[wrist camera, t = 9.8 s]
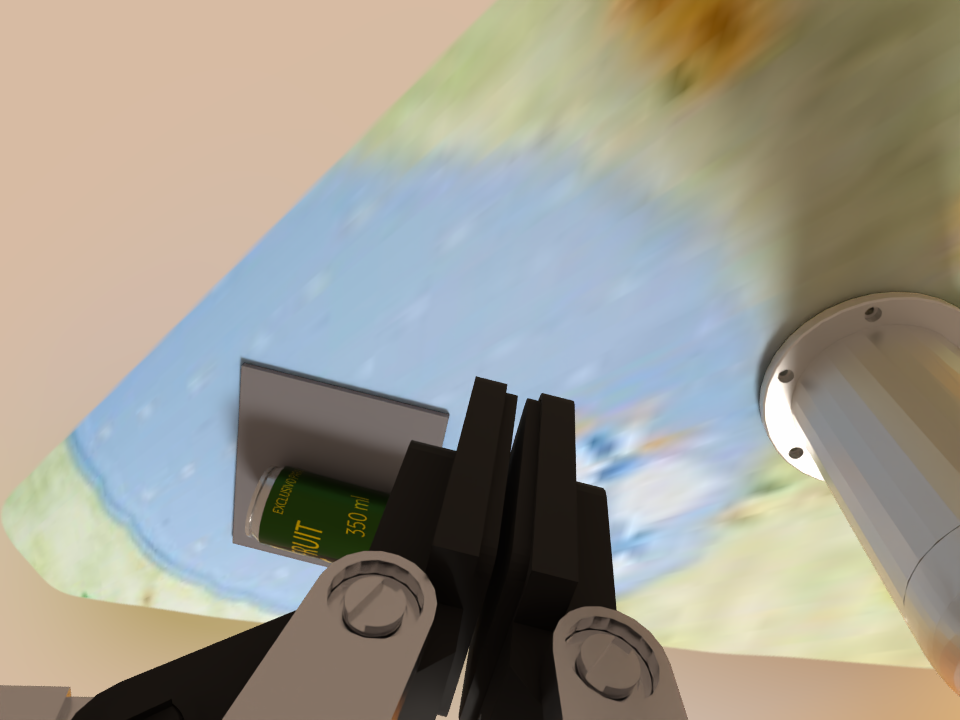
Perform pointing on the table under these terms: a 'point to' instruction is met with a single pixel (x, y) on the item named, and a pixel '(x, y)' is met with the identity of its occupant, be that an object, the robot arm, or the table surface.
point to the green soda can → (313, 514)
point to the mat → (321, 437)
